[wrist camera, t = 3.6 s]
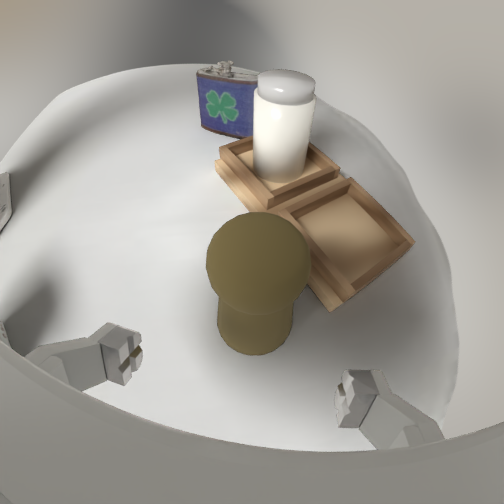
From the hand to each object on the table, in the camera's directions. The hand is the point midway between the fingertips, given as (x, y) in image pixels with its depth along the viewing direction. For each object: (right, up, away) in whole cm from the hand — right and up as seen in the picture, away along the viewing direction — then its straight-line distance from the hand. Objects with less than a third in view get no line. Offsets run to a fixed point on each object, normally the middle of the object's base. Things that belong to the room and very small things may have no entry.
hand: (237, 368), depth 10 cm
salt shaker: (+3, +14, +19) cm, 24 cm away
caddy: (+6, +9, +18) cm, 21 cm away
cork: (+1, -1, +12) cm, 12 cm away
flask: (-3, +21, +26) cm, 33 cm away
